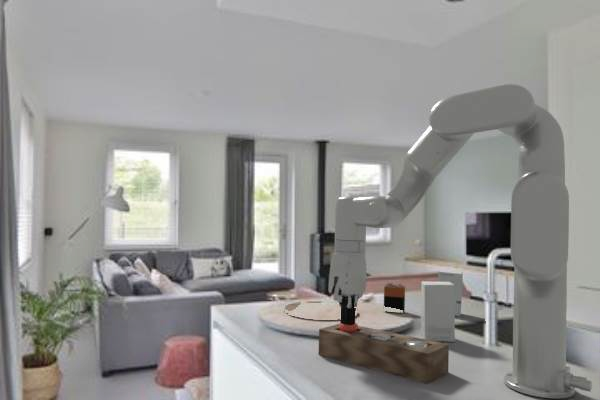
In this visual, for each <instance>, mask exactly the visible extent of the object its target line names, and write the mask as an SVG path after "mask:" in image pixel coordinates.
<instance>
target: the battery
mask: <svg viewBox="0 0 600 400" xmlns="http://www.w3.org/2000/svg"><path fill="white" fill-rule="evenodd" d="M405 303H406V287H405V285H403V284H402V283H398V284H395V285H394V283H393V282H386V285H385V286H384V288H383V307H384V306H385V307H391V308H396V309H400V310H403V311H404V312H405V308H406V305H405Z"/></svg>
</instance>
